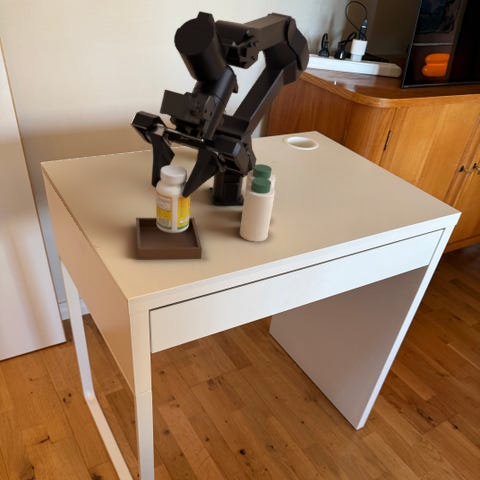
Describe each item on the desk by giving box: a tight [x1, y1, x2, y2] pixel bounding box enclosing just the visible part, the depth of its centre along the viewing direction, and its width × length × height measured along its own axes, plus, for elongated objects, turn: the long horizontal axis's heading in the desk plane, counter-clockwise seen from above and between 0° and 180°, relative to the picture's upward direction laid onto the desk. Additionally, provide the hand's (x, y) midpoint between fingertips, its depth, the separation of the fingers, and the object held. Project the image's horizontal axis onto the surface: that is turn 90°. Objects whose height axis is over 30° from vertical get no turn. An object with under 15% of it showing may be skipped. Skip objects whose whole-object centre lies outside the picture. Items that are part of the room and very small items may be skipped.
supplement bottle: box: [155, 164, 191, 233], centre depth 72 cm, size 5×5×10 cm
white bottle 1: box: [245, 163, 276, 189], centre depth 83 cm, size 5×5×10 cm
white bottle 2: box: [239, 177, 276, 243], centre depth 78 cm, size 5×5×10 cm
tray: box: [135, 217, 203, 260], centre depth 76 cm, size 10×10×2 cm
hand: (168, 191), depth 70 cm, fingers closed on supplement bottle, 5 cm apart
